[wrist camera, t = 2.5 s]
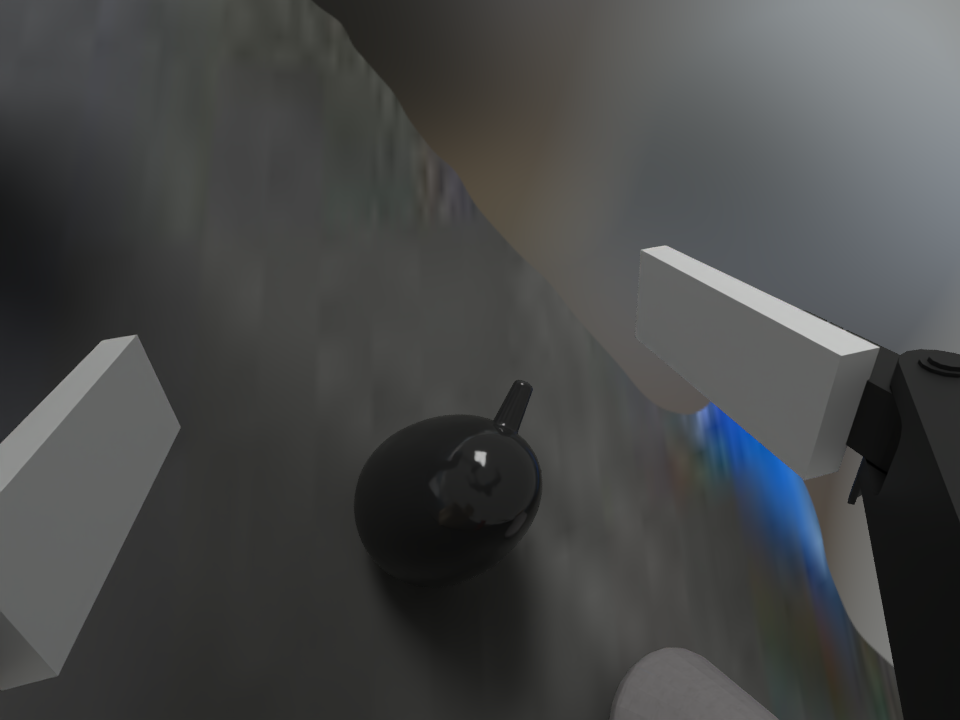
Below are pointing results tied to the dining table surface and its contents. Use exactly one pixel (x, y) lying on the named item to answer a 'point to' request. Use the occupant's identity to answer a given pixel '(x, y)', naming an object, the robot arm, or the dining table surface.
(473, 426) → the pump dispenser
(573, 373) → the dining table surface
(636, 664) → the coffee pot
